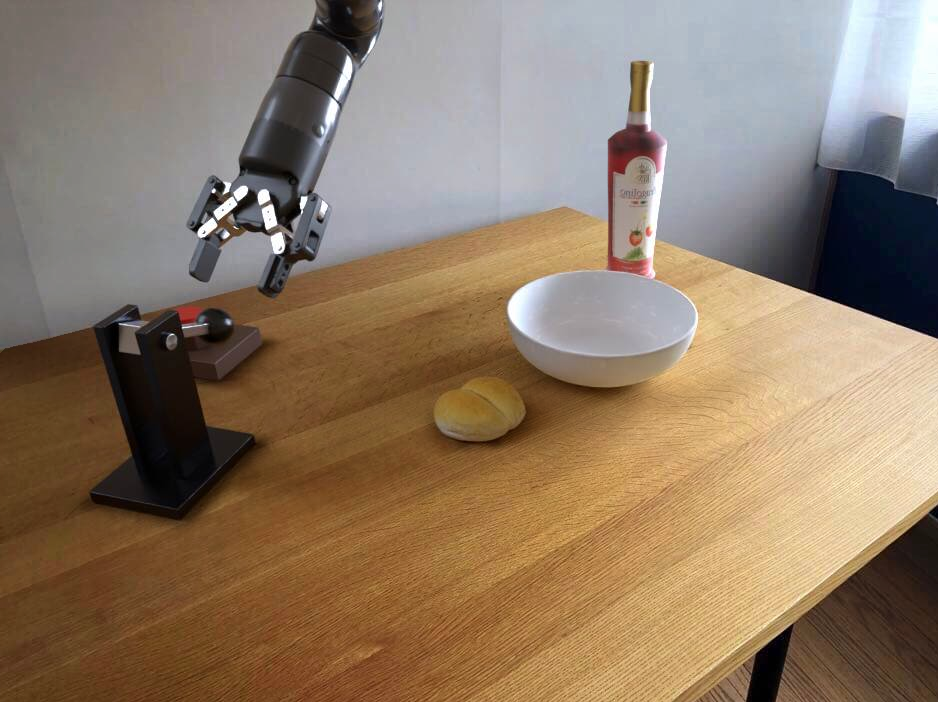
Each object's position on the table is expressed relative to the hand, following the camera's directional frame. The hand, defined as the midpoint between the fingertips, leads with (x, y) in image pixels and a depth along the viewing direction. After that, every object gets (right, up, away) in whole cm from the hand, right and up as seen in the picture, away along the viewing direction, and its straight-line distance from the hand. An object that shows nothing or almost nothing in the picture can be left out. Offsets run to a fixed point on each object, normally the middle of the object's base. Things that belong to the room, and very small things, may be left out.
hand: (231, 286), depth 82 cm
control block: (-10, -6, +16) cm, 20 cm away
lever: (-3, -7, -5) cm, 9 cm away
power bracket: (-4, -18, -3) cm, 18 cm away
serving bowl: (+36, -7, +15) cm, 40 cm away
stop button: (-10, -3, +14) cm, 18 cm away
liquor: (+42, +5, +34) cm, 54 cm away
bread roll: (+24, -13, +5) cm, 27 cm away
